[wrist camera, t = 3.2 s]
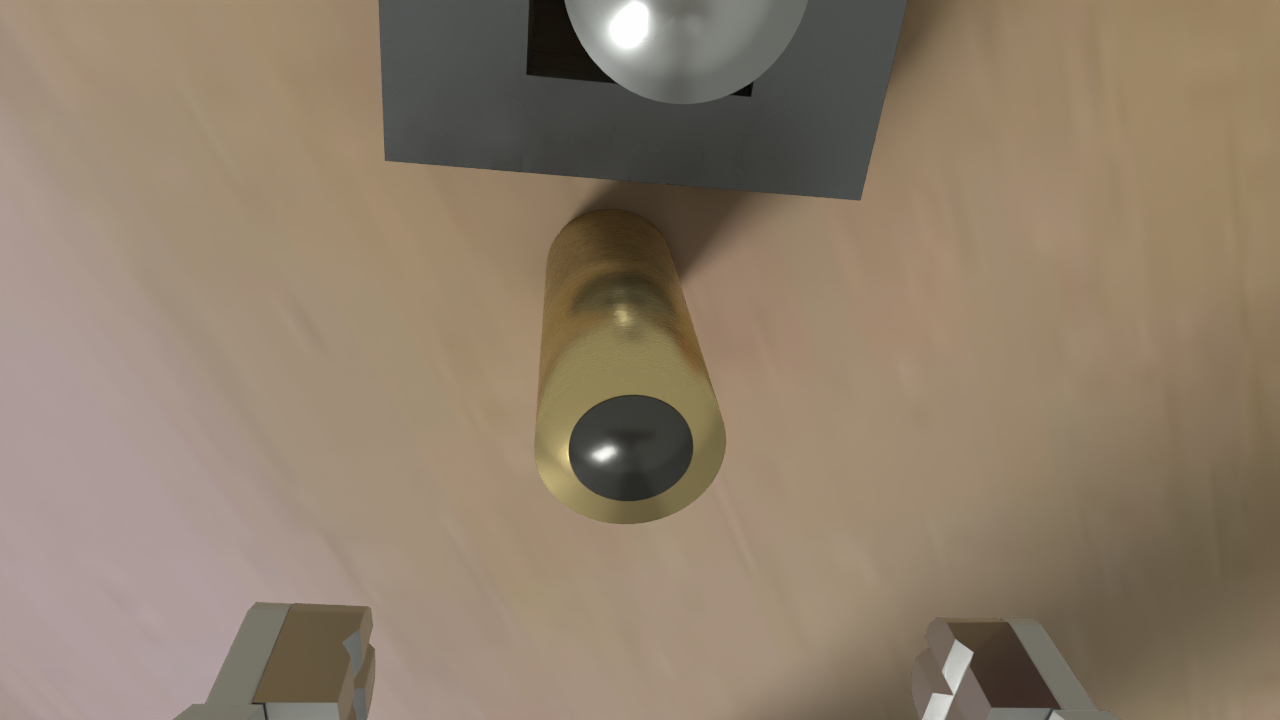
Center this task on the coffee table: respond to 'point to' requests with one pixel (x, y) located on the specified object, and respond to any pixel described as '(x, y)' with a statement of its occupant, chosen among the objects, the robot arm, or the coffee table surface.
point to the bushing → (622, 377)
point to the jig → (644, 90)
